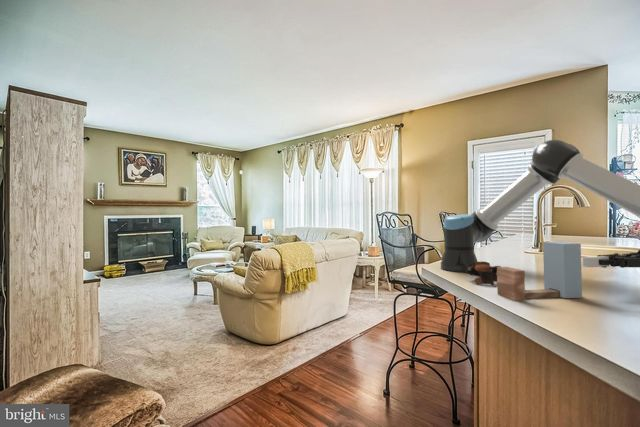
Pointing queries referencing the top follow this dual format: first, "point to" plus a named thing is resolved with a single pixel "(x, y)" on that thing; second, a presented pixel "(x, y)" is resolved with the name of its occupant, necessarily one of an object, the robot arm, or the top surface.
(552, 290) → the wooden mallet
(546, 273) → the blue-grey tall block
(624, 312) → the top surface
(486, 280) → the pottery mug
